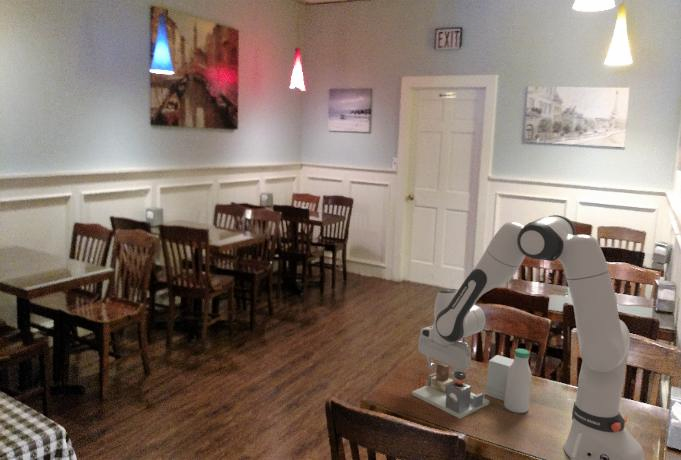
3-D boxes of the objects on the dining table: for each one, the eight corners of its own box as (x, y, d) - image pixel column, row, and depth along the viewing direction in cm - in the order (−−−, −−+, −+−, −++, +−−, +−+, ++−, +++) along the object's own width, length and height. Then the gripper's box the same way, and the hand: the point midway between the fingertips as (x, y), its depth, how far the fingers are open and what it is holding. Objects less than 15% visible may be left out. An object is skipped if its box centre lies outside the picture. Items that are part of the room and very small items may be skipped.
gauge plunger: (466, 397, 179) (468, 374, 177) (459, 400, 176) (461, 377, 175) (456, 393, 181) (459, 370, 180) (450, 396, 179) (452, 373, 178)
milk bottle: (529, 415, 179) (536, 356, 176) (504, 411, 181) (511, 353, 177) (526, 404, 187) (533, 347, 183) (503, 400, 188) (508, 345, 185)
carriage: (452, 388, 192) (454, 366, 191) (443, 392, 189) (445, 370, 188) (439, 382, 197) (440, 360, 195) (429, 386, 193) (431, 364, 192)
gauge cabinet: (468, 412, 180) (471, 386, 178) (458, 417, 176) (460, 391, 174) (455, 405, 184) (457, 380, 182) (444, 410, 180) (446, 384, 178)
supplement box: (505, 401, 188) (509, 366, 186) (484, 394, 192) (488, 360, 190) (513, 394, 194) (517, 359, 192) (493, 387, 198) (496, 354, 196)
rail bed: (489, 404, 186) (490, 390, 185) (460, 418, 175) (461, 404, 174) (441, 382, 200) (442, 369, 200) (412, 394, 190) (413, 381, 189)
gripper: (476, 342, 184) (472, 381, 186) (428, 324, 199) (425, 361, 201) (465, 346, 180) (461, 386, 182) (416, 328, 195) (414, 365, 197)
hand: (442, 373), depth 192 cm, fingers open, 8 cm apart
